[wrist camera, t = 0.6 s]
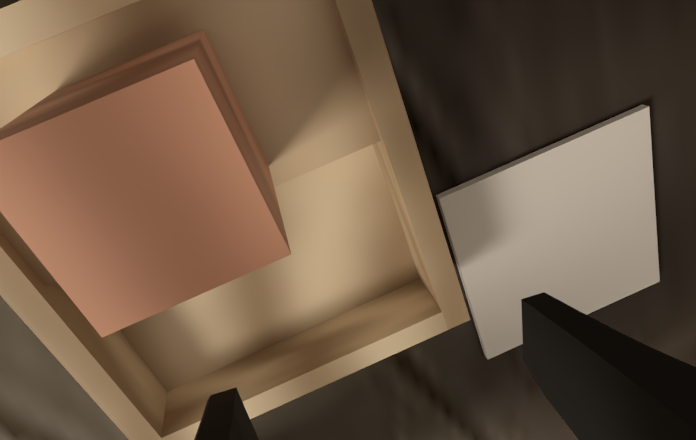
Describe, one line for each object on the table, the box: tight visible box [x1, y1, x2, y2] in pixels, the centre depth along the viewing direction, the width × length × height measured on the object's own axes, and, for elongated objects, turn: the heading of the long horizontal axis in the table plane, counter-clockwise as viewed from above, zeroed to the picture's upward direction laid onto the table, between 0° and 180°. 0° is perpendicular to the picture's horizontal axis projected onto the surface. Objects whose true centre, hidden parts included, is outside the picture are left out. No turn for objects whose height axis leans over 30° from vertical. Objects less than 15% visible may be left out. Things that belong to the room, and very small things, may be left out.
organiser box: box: [0, 0, 470, 440], centre depth 18 cm, size 14×16×4 cm
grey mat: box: [436, 104, 660, 359], centre depth 24 cm, size 10×10×1 cm
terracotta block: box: [0, 29, 291, 337], centre depth 13 cm, size 4×4×6 cm
